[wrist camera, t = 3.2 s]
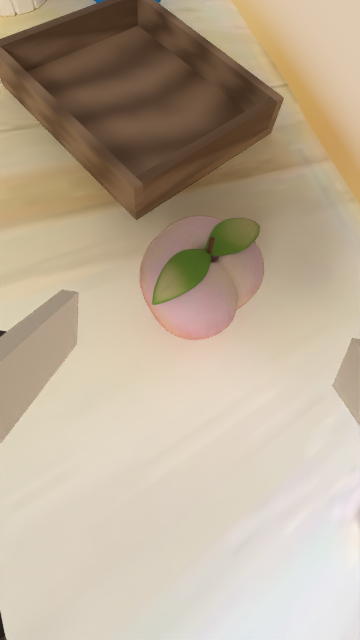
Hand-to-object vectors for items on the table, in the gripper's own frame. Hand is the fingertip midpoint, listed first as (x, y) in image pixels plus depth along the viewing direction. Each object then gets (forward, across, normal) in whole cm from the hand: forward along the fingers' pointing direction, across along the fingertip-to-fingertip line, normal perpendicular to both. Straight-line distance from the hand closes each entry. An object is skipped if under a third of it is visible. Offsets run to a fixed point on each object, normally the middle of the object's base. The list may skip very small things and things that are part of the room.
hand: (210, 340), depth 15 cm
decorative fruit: (+13, -1, -3) cm, 13 cm away
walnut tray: (+29, -10, +14) cm, 34 cm away
